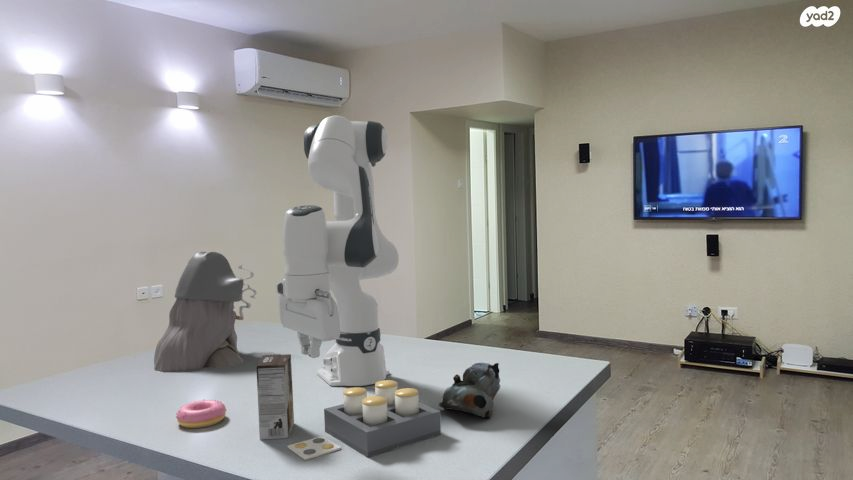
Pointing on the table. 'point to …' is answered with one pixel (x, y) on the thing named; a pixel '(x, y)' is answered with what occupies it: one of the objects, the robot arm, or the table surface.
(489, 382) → the lucky cat figurine
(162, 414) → the table surface
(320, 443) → the card
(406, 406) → the button
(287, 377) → the coffee box
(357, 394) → the button
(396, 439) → the board
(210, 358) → the bust
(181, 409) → the doughnut
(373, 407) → the button
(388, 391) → the button
